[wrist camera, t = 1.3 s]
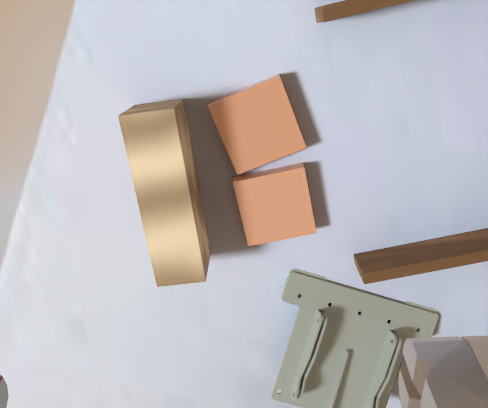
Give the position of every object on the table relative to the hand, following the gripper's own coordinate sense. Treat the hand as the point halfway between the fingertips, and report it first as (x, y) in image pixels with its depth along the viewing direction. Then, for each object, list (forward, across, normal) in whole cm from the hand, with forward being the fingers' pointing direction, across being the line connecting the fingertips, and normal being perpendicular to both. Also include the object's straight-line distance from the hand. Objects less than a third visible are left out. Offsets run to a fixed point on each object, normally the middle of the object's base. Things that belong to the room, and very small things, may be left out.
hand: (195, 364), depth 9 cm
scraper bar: (+28, -6, -11) cm, 31 cm away
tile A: (+28, +2, -13) cm, 31 cm away
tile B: (+29, +1, -6) cm, 30 cm away
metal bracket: (+26, +8, -28) cm, 39 cm away
